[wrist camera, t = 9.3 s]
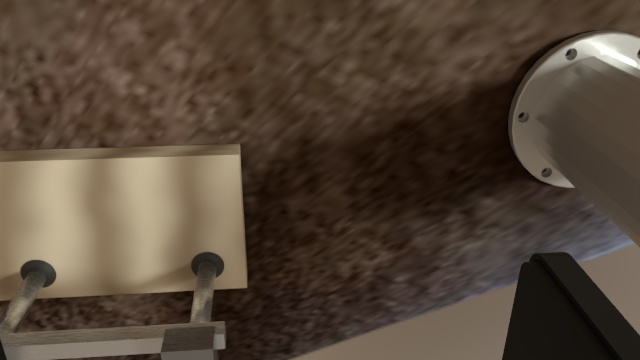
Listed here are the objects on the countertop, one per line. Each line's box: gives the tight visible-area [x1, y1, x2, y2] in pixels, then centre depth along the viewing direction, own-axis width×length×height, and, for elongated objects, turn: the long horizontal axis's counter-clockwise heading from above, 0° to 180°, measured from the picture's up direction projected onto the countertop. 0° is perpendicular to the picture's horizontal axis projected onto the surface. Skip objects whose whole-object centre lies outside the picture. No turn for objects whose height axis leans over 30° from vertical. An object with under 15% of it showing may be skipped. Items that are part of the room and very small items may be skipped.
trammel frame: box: [0, 259, 226, 360], centre depth 39 cm, size 18×4×12 cm, turn 90°
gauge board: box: [0, 144, 248, 301], centre depth 44 cm, size 20×12×2 cm, turn 90°
